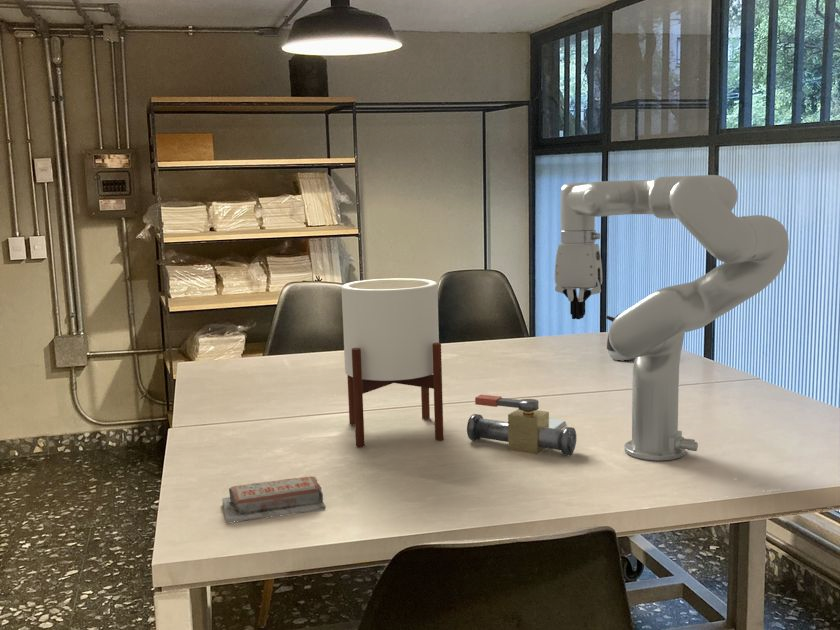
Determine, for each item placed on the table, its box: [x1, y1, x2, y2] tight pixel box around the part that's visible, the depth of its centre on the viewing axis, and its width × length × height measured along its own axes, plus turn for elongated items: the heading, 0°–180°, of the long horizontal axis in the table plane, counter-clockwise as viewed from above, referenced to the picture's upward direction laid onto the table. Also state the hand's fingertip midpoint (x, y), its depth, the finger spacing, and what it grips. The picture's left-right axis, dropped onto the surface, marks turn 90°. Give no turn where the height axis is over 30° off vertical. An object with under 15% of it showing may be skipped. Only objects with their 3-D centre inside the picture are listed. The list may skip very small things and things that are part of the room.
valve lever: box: [474, 394, 540, 411], centre depth 190 cm, size 14×4×2 cm, turn 61°
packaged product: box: [222, 475, 327, 523], centre depth 159 cm, size 18×5×10 cm
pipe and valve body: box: [466, 408, 577, 456], centre depth 189 cm, size 24×6×9 cm, turn 57°
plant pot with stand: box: [341, 277, 444, 448], centre depth 202 cm, size 22×22×36 cm
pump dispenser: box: [605, 313, 634, 362], centre depth 275 cm, size 10×10×15 cm
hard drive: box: [549, 418, 567, 430], centre depth 203 cm, size 2×8×12 cm
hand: (577, 318), depth 195 cm, fingers closed
